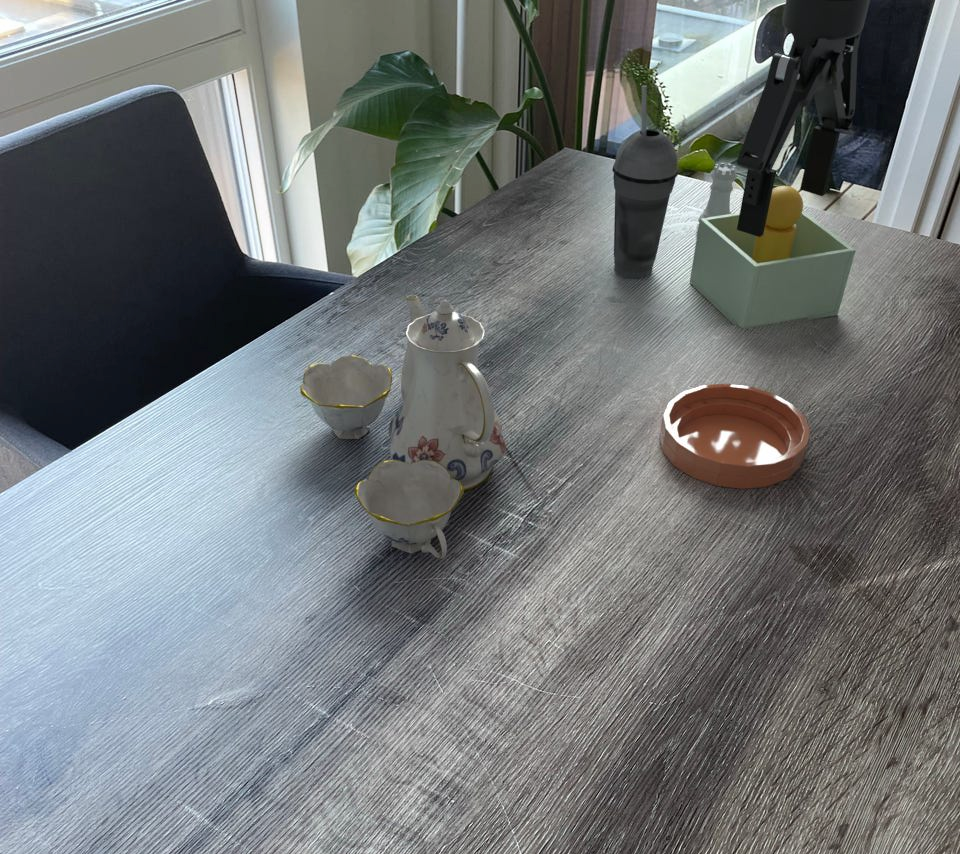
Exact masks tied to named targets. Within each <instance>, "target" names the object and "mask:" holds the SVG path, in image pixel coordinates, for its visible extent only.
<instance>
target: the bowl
mask: <svg viewBox="0 0 960 854" xmlns="http://www.w3.org/2000/svg"><path fill="white" fill-rule="evenodd" d="M810 434H811V429H810V426H809V424H808V422H807V419H806V416H805V415H804V414H803V413H802V412H801V411H800V410H799V409H798V408H797V407H796V406H795V405H793V403H792V402H789V401H788V400H786V399H784V398H782V397H781V396H779V395H777V394H775V393H773V392H770V391H766V390H764V389H760V388H757V387H753V386H749V385H742V384H733V383H714V384H702V385H699V386H695V387H693V388H689V389H686V390H683V391H681V392H679V394H677V395H676V396H674V397H673V398H672V399H670V400H669V401H668V403H667V405H666V406H665V409H664V412H663V414H662V418H661V425H660V431H659V442H660V447H661V452H662V453H663V454H664V456H665V457H666V458H667V460H669V462H670V463H671V464H672V465H673V466H674V467H675V468H677V469H678V470H680V471H682V472H683V473H685V474H686V475H688V476H689V477H690V478H692V479H694V480H695V479H696V480H698V481H701V482H704V483H707V484H710V485H713V486H715V487H722V488H731V489H738V490H739V489H740V490H746V489H756V488H768V487H770V486H773V485H776V484H778V483H781V482H783V481H787V480H788V479H789V478H790V477H791V476H793V475H794V474H795V473H796V472H797V471H798V470H799V469H800V468H801V467H802V463H803V460H804V456H805V454H806V453H805V452H806V449H807V446H808V442H809V438H810V436H811V435H810Z"/></svg>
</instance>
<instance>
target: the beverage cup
mask: <svg viewBox="0 0 960 854" xmlns="http://www.w3.org/2000/svg"><path fill="white" fill-rule="evenodd" d="M647 87H648V86H647V85H646V84H643V85H641V130H637V131H636V132H632V133H631V134H630V135H629V136H628V137H627V138H626V139H625V140H624V141H623V142H622V143H621V145H620V146H619V148H618V150H617V152H616V156H615V160H614V162H613V165H612V173H613V176H612V177H613V178H612V179H613V188H614V222H613V223H614V224H613V225H614V227H613V229H614V230H613V235H614V236H613V264H614V266H613V270H614V272H615V274H617V275H619V276H621V277H623V278H627V279H643V278H647V277H649V276H651V274H652V273H653V267H654V264H655V261H656V259H657V253H658V249H659V245H660V241H661V236H662V232H663V227H664V223H665V219H666V214H667V210H668V205H669V202H670V197H671V194H672V193H673V189H674V187H675V183H676V178H677V177H678V176H679V166H678V163H679V162H678V154H677V151H676V147H675V146H674V144H673V142H672V141H671V139H670V138H669V137H668V136H667V135H666V134H665V133H663V132H661V131H660V130H656V129H653V128H652V129H651V128H647V99H648V97H647V96H648V95H647V93H648V91H647Z"/></svg>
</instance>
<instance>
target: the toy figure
mask: <svg viewBox="0 0 960 854" xmlns="http://www.w3.org/2000/svg"><path fill="white" fill-rule="evenodd" d="M802 211H804V201H803V197H802V195H801V194H800V192H799V191H798V190H797V189H796V188H794V187H792V186H789V185H778V186H776V187H773V190H772V195H771V200H770V205H769V210H768V214H767V219H766V224H765V229H764V234H763V235H762V236H761V237H757V236H756V241H755V245H754V250H753V255H752V259H753V260H754V261H755V262H756V263H757V264H758V263H764V262H770V261H776V260H782V259H789V258H790V254H791V250H792V245H793V241H794V237H795V232H796V228H797V226H796V224H795V223H796V222H797V221H798V220H799V218H800V216H801V214H802Z"/></svg>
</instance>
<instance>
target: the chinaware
mask: <svg viewBox="0 0 960 854" xmlns="http://www.w3.org/2000/svg"><path fill="white" fill-rule="evenodd" d="M406 302H407V306H408V310H409V317H410V323H409V324H407V327H406V330H405V335H406V337H407V342H406V348H405V351H404V352H405V353H404V356H403V362H402V370H401V380H400V391H401V392H400V393H401V397H402V402H403V403H402V405H401V406H400V407H399V409H398V410H397V411H396V412H395V415H393V418H392V419H391V420H390V422H389V425H388V433H389V434H388V435H389V440H390V447H389V456H390V460H383V461H381V462H380V463H378V464H377V465H375V466H374V467H373V468H372V470H371V471H370V473H369V474H368V476H367V478H364V479H363V480H360V481H359V482H357V484H356V487H354V489H353V494H354V496H355V498H356V500H357V502H358V503H359V505H360V506H361V507H362V509H363V510H364V511H365V513H367V514H368V517H369V519H370V521H371V524H372V525H373V526H374V528H375V530H376V531H377V532H378V533H379V534H380V535H382V536H383V537H384V538H386V539H387V540H389V541H390V542H391V545H390V546H391V547H392V548H395V549H397V550H399V551H402V552H406V553H408V554H409V555H410V554H411V555H412V554H414V553H416V552H420V551H421V552H422V553H423V554H428V553H431V554H432V555H433V557H435V559H438V560H442V559H444V558H445V557H446V555H447V551H448V546H447V540H446V536H445V534H444V532H443V530H444V528H445V527H446V525H447V524H448V522H449V519H450V517H451V514H452V511H453V509H454V508H456V506H457V505H458V503H459V502H460V500H461V498H462V496H463V495H464V493H465V492H466V491H469V490H472V489H475V488H476V487H479V486H481V485H482V484H483V483H485V482H486V481H487V480H488V479H489V478H490V476H491V474H492V472H493V469H494V465H496V464H497V463H498V462H499V461H501V459H503V457H504V456H505V454H506V451H507V447H506V443H505V440H504V436H503V424H502V420H501V418H500V416H499V414H498V413H497V412H496V410H495V407H494V401H493V396H492V394H491V389H490V388H489V385H488V383H487V381H486V379H485V377H484V375H483V374H482V372H481V371H480V370H479V369H478V368H479V367H478V364H479V363H478V362H479V361H478V359H479V350H480V346H481V343H482V340H483V339H484V336H485V331H486V330H485V328H484V327H483V325H482V323H481V322H480V321H478V320H476V319H475V318H473V317H472V316H469V315H465V314H462V313H459V312H458V311H456V310H455V307H454V306H453V305H451V303H450V301H448V299H442V300H441V301H440V302H439V304H438V305H437V306H436V307H435V310H434V311H432V312H431V313H428V314H425V312H424V308H423V304H422V302H421V300H420V298H419V297H418V295H416V294H410V295H407V296H406ZM392 384H393V372H392V369H391V368H390V367H387V366H386V365H384V364H372V363H371V362H369V361H368V360H367V359H366V358H364V357H361V356H359V355H354V354H350V355H345V356H340V357H339V358H337V359H336V360H333V362H331V363H324V362H316V363H314V364H311V365H309V366H308V367H307V368H306V369H305V371H304V373H303V379H302V384H301V385H300V387H299V389H300V395H301V397H303V399H306V400H308V401H309V402H310V404H311V406H312V409H313V411H314V413H315V414H316V416H317V418H319V419H320V420H321V422H323V423H324V424H325V425H327V426H329V428H330V429H331V430H332V432H333V433H334V435H335V436H337V438H338V439H343V440H359V439H361V438H362V437H364V436H365V435H366V434H367V433H368V432H369V431H371V427H370V425H372V424H373V423H374V422H375V421H376V420H377V419H378V417H379V416H380V415H381V413H382V411H383V409H384V406H385V403H386V399H387V398H388V395H389V394H390V392H391V388H392ZM436 536H437V540H438V543H439V546H440V553H439V552H438V551H437V550H436V549H435V548H434V547H433V545H432V544H431V542H432V539H434V538H435V537H436Z"/></svg>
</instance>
